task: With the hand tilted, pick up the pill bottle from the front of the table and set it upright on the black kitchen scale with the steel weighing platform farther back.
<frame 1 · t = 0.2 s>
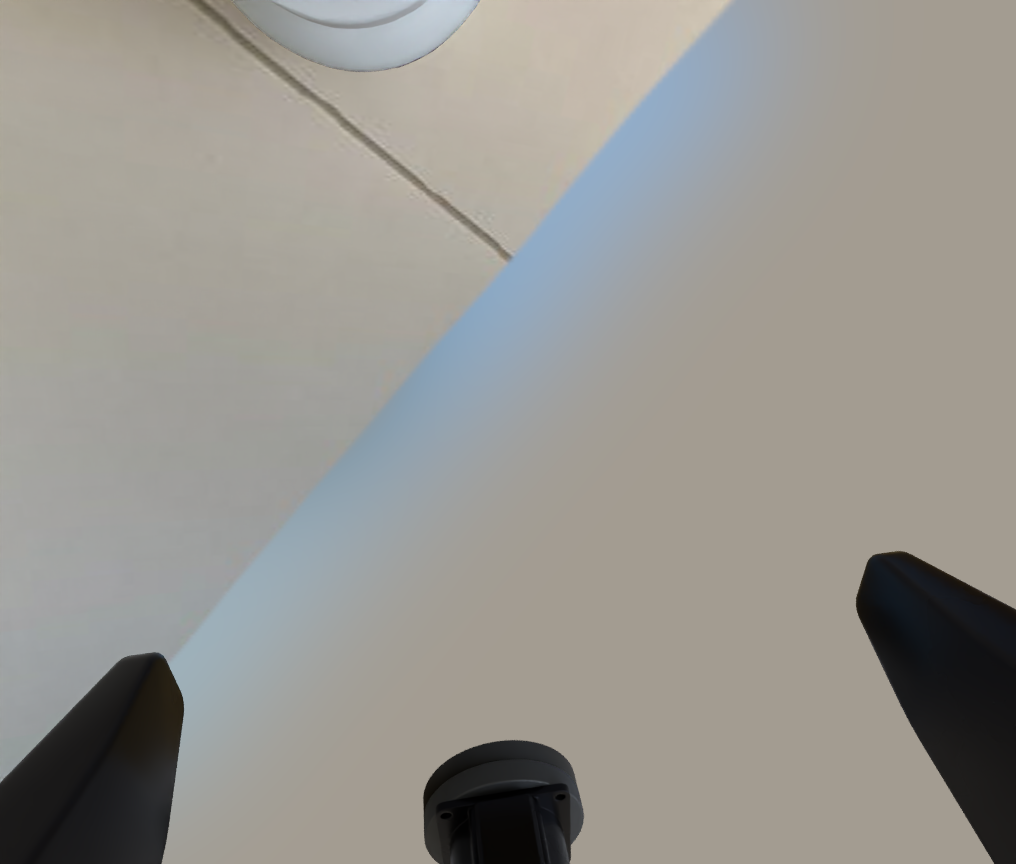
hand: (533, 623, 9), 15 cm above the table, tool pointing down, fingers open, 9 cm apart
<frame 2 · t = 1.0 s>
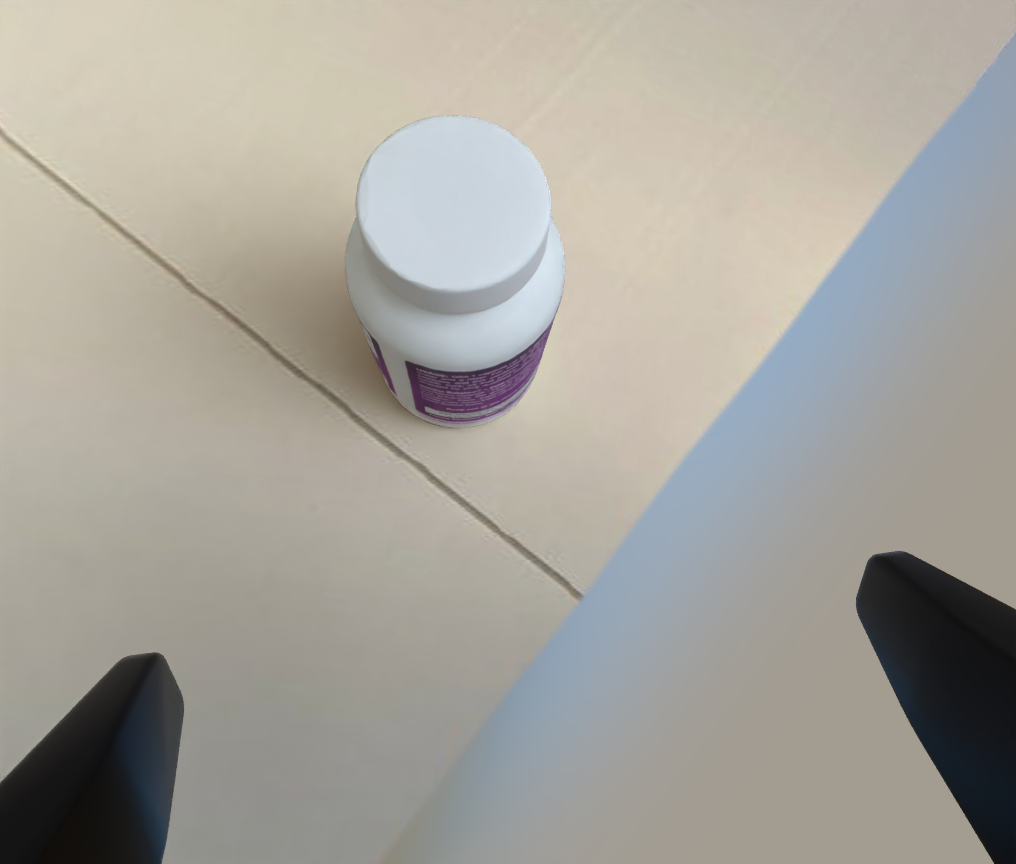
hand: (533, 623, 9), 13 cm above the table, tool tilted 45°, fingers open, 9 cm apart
pill bottle: (458, 354, 24), on the table
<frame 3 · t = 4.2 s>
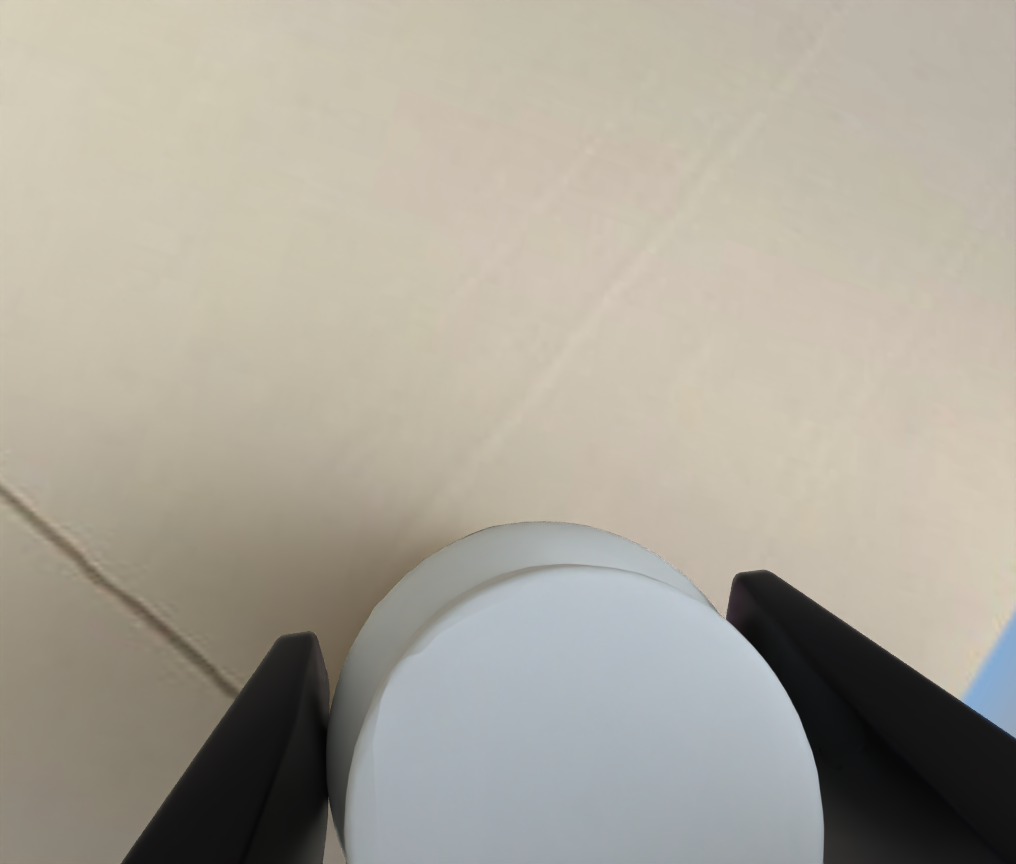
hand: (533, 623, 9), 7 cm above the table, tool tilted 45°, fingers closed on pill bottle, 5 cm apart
pill bottle: (510, 674, 15), on the table, touching gripper
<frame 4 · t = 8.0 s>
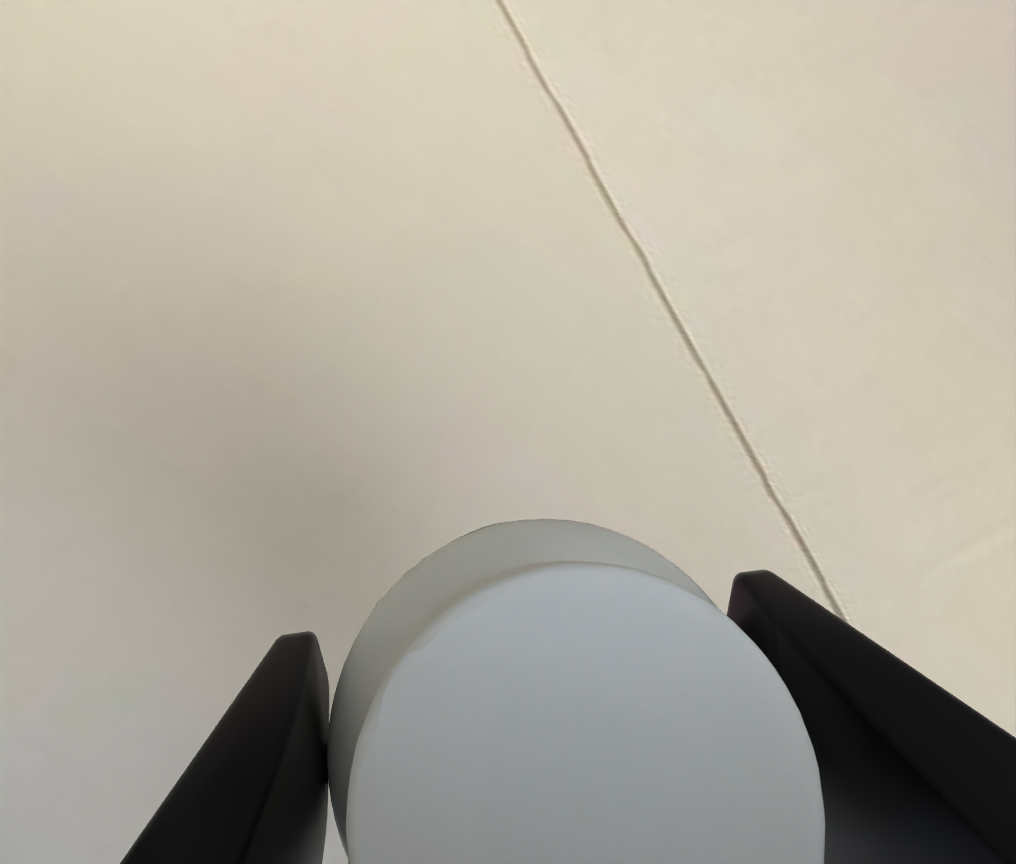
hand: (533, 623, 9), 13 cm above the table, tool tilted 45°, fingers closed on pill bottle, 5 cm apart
pill bottle: (511, 673, 15), point 6 cm above the table, touching gripper
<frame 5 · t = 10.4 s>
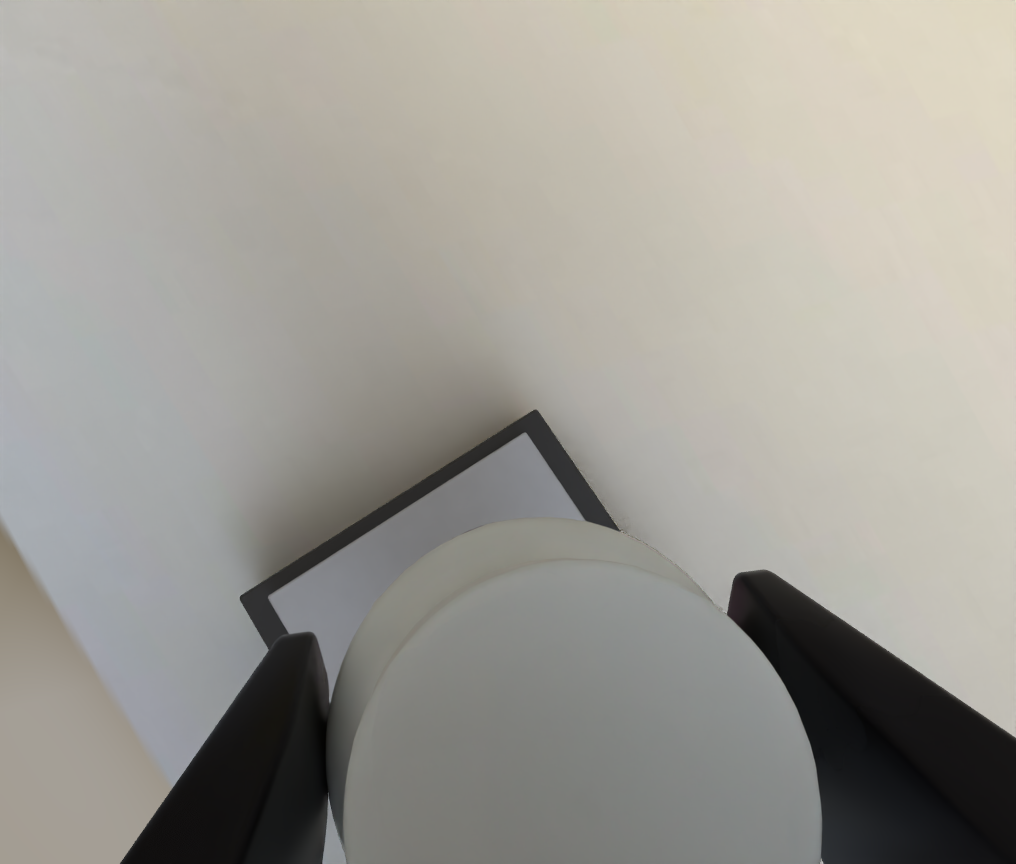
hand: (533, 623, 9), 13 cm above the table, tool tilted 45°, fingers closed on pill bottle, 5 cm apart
pill bottle: (510, 671, 15), point 6 cm above the table, touching gripper
scale: (485, 642, 21), on the table
when the fingers open (9 cm above the table, at t = 12.2 s): pill bottle stays where it is, resting on scale.
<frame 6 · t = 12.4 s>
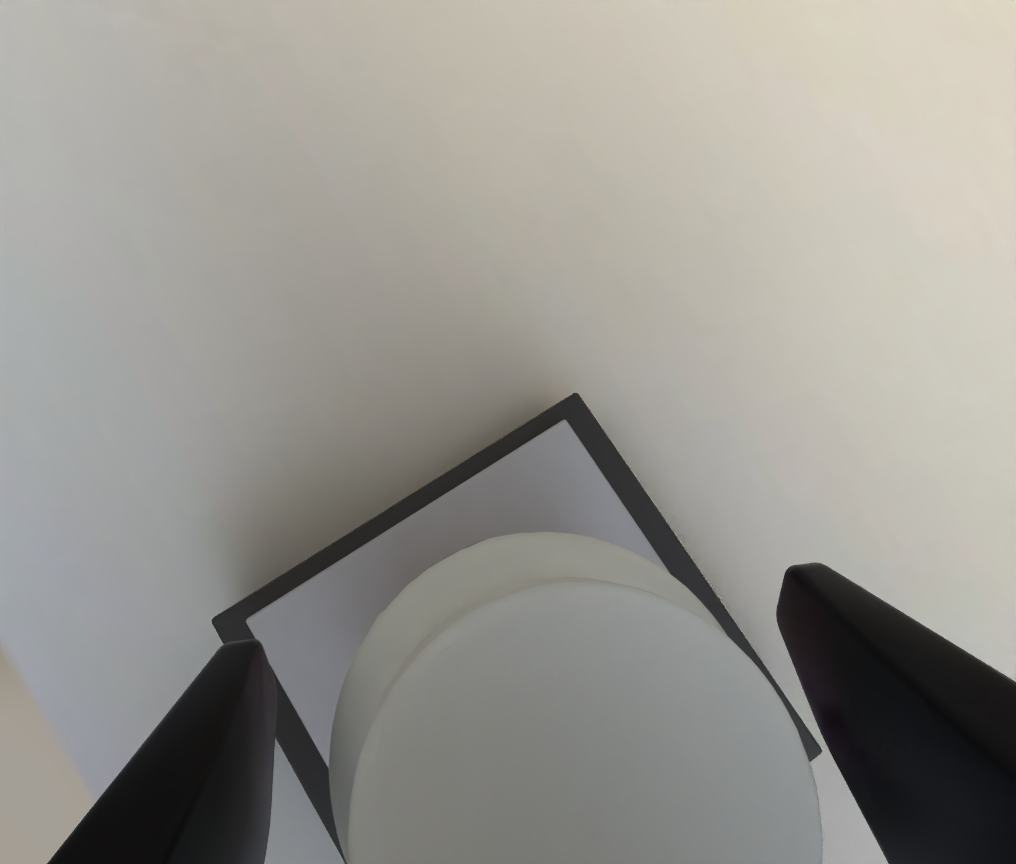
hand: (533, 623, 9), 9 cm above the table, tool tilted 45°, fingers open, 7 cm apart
pill bottle: (512, 679, 15), point 3 cm above the table, touching scale
scale: (512, 674, 18), on the table
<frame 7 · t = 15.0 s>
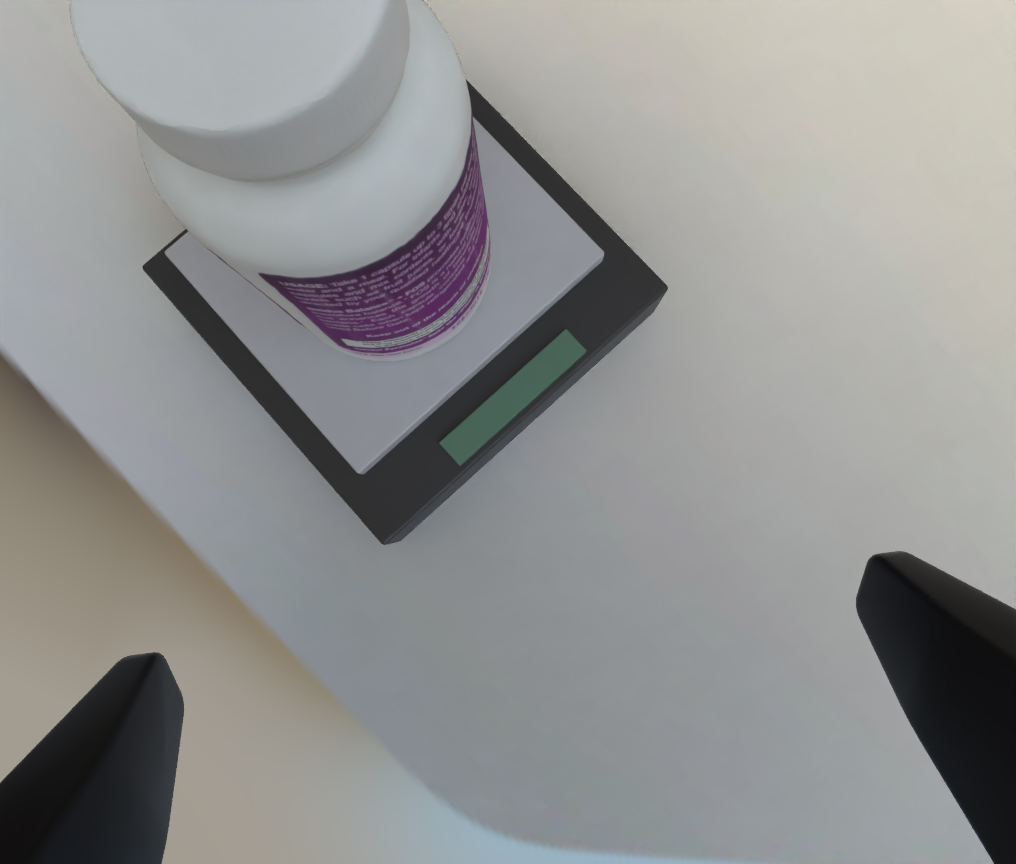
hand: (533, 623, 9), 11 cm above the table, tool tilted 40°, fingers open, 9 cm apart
pill bottle: (390, 265, 18), point 3 cm above the table, touching scale
scale: (414, 301, 21), on the table
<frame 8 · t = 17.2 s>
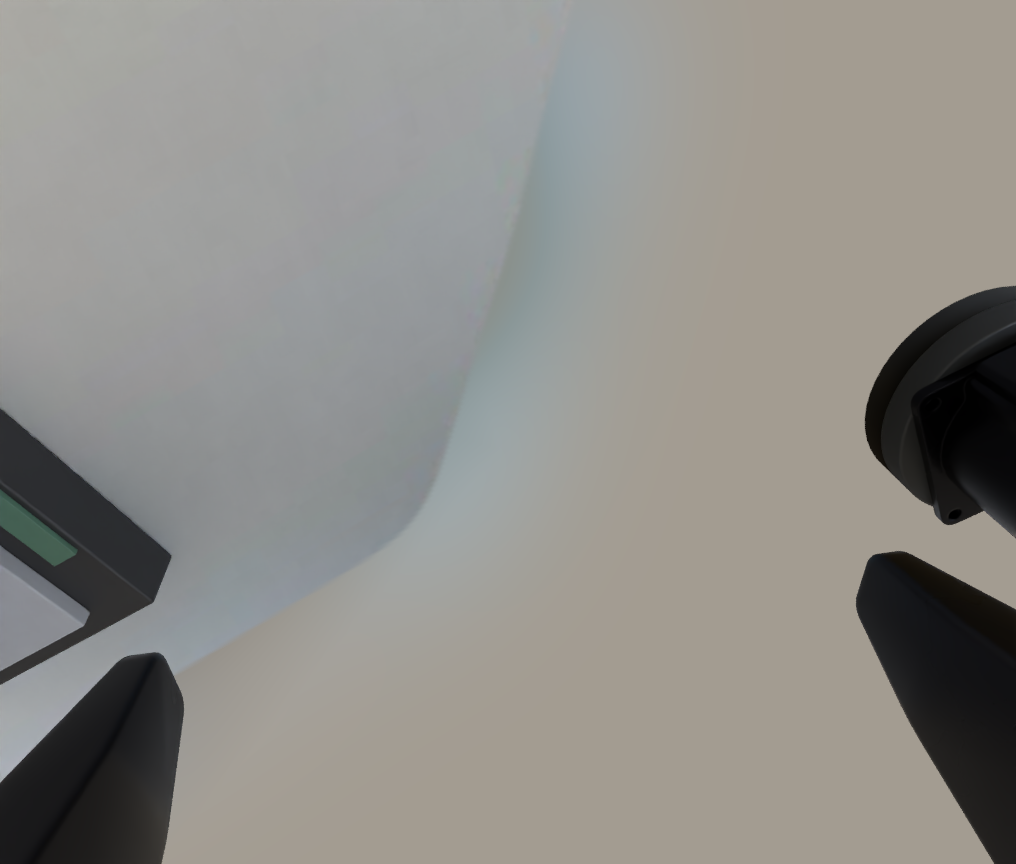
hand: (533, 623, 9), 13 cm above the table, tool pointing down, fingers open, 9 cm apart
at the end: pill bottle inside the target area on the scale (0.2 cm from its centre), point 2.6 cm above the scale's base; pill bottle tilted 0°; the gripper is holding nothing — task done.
